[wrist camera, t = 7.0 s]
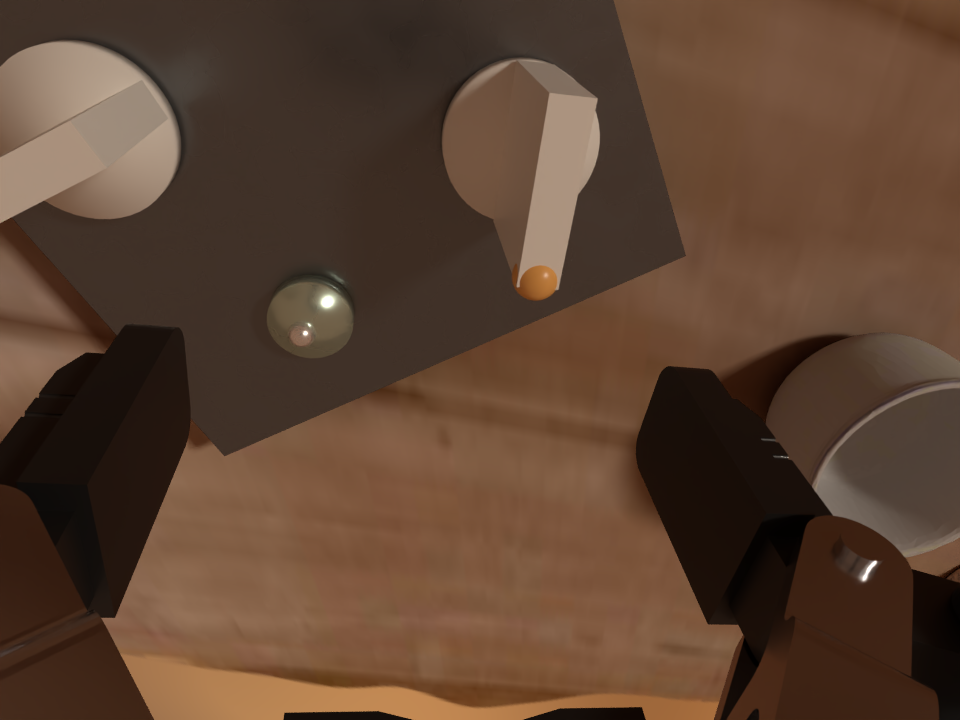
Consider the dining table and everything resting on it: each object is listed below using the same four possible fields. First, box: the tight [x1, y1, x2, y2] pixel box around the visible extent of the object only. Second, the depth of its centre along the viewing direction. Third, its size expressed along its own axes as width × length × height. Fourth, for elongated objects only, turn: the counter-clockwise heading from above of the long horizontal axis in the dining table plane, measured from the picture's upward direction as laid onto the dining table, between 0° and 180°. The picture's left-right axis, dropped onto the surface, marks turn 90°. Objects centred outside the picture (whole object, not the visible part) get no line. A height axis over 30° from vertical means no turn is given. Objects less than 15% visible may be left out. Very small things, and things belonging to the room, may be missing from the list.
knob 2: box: [442, 57, 600, 301], centre depth 23 cm, size 7×6×7 cm
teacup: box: [766, 333, 960, 557], centre depth 35 cm, size 14×11×8 cm
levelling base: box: [0, 0, 686, 456], centre depth 26 cm, size 24×22×4 cm
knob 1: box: [0, 40, 181, 223], centre depth 21 cm, size 7×6×7 cm
